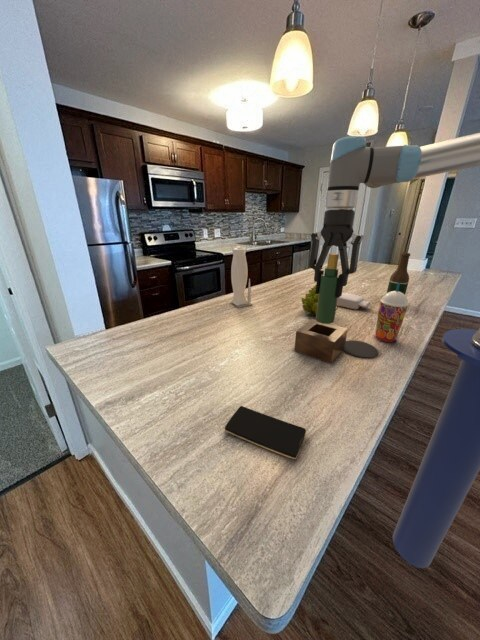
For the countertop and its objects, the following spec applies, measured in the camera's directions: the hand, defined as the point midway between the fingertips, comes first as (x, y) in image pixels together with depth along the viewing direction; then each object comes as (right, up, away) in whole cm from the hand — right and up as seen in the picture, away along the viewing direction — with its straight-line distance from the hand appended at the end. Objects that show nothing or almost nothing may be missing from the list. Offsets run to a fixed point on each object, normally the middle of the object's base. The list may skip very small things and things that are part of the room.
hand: (328, 294), depth 77 cm
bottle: (0, -8, +3) cm, 8 cm away
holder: (0, -17, +7) cm, 19 cm away
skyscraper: (-26, 0, +47) cm, 54 cm away
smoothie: (+25, -14, +15) cm, 32 cm away
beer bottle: (+49, 0, +50) cm, 70 cm away
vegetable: (+7, -5, +37) cm, 38 cm away
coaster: (+12, -17, +7) cm, 22 cm away
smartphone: (-21, -30, -25) cm, 45 cm away
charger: (+28, -2, +45) cm, 53 cm away
